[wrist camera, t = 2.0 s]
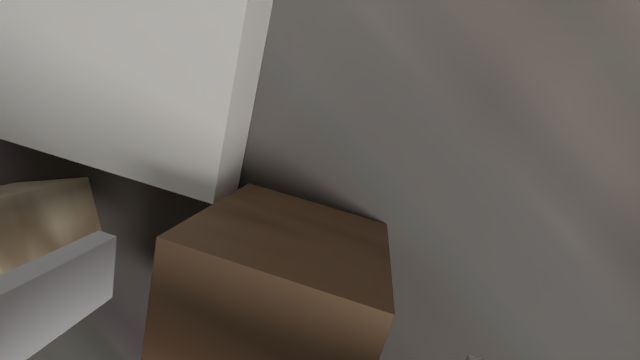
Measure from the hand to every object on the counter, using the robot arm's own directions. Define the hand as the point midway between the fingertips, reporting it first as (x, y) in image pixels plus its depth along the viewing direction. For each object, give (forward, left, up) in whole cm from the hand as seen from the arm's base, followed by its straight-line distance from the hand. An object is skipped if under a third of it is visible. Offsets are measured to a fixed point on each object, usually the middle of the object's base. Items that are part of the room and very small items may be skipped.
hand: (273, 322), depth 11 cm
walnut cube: (0, 0, -5) cm, 5 cm away
